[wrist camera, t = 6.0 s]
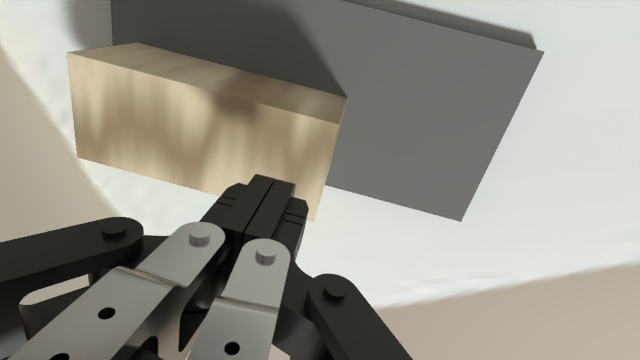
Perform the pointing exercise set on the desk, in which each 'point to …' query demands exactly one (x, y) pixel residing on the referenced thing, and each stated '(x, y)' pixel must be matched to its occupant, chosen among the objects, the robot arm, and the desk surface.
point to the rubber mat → (363, 84)
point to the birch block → (200, 121)
